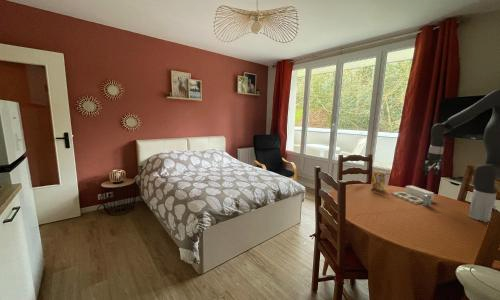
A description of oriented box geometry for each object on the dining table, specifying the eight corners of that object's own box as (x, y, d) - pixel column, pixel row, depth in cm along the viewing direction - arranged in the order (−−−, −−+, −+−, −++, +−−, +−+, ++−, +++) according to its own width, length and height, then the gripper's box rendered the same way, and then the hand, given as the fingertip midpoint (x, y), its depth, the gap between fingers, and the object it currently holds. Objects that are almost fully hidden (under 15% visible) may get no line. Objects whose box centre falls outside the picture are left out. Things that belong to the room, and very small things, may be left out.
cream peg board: (425, 203, 150) (426, 200, 149) (414, 205, 147) (415, 201, 147) (401, 194, 167) (401, 191, 166) (391, 195, 164) (391, 192, 164)
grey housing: (432, 200, 153) (434, 192, 152) (426, 201, 151) (427, 193, 150) (410, 192, 168) (411, 185, 167) (404, 193, 166) (405, 186, 165)
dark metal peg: (431, 208, 143) (433, 196, 142) (426, 208, 142) (428, 197, 141) (425, 205, 147) (426, 194, 146) (420, 206, 146) (422, 194, 145)
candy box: (384, 190, 175) (386, 172, 172) (382, 191, 172) (384, 173, 169) (372, 187, 181) (374, 170, 179) (370, 189, 178) (372, 171, 176)
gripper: (433, 154, 143) (428, 177, 146) (449, 153, 147) (444, 175, 150) (422, 151, 150) (417, 173, 154) (437, 150, 154) (432, 172, 157)
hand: (430, 174), depth 152 cm, fingers open, 8 cm apart
